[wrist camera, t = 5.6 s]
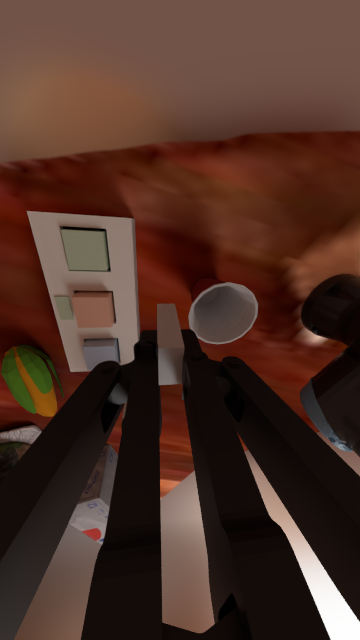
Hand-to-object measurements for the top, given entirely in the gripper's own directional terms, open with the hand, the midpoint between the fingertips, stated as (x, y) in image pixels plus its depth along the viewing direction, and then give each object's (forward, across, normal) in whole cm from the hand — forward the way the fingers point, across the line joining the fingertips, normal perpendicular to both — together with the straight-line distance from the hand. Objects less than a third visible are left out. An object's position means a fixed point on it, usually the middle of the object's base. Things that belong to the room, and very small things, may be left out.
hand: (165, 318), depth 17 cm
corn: (+21, +26, +24) cm, 41 cm away
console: (+21, +11, +5) cm, 24 cm away
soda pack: (+23, +16, +75) cm, 80 cm away
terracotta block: (+18, +11, +5) cm, 22 cm away
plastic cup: (+22, -9, +4) cm, 24 cm away
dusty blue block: (+18, +11, +14) cm, 26 cm away
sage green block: (+19, +11, -4) cm, 22 cm away
